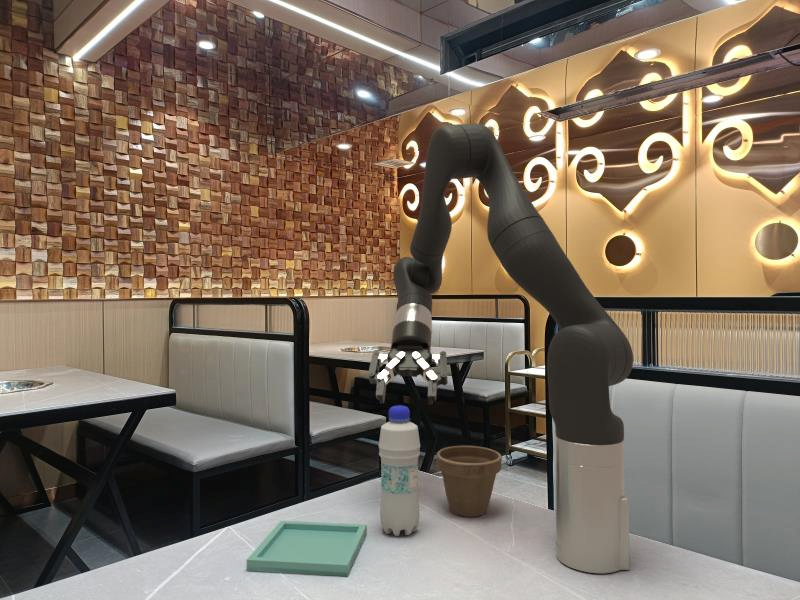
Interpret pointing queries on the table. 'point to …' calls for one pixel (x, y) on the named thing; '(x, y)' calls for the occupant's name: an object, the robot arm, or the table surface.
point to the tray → (309, 548)
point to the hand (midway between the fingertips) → (405, 401)
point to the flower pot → (468, 477)
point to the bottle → (399, 472)
